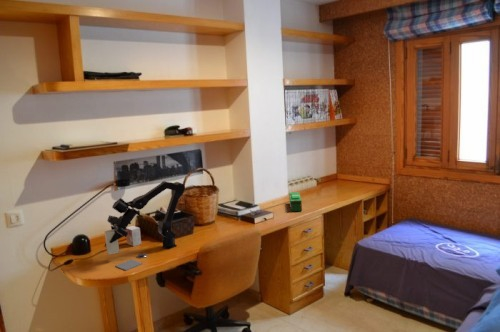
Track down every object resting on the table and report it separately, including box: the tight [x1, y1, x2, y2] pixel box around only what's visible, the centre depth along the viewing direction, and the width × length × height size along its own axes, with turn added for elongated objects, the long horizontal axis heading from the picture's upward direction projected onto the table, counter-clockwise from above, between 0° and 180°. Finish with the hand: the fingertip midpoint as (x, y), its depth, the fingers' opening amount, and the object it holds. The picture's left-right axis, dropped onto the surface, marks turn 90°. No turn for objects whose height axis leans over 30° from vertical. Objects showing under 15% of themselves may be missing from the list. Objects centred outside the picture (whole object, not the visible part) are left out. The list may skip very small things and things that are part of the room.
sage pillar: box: [104, 229, 120, 255], centre depth 222 cm, size 6×6×12 cm
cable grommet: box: [136, 253, 148, 259], centre depth 227 cm, size 6×6×1 cm
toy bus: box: [289, 191, 303, 212], centre depth 307 cm, size 11×27×10 cm, turn 169°
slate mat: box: [114, 259, 143, 271], centre depth 215 cm, size 10×10×1 cm
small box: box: [125, 225, 142, 247], centre depth 248 cm, size 8×6×10 cm
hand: (109, 241), depth 221 cm, fingers closed on sage pillar, 5 cm apart
